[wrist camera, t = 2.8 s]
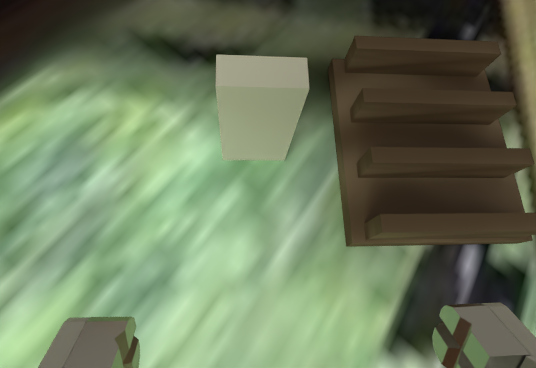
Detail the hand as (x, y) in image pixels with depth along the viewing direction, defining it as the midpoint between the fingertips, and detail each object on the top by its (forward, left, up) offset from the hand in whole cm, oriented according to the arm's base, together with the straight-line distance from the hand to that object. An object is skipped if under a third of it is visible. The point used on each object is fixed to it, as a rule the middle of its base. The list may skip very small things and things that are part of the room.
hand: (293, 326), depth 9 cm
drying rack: (-4, +18, -16) cm, 24 cm away
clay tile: (-11, +6, -16) cm, 20 cm away
